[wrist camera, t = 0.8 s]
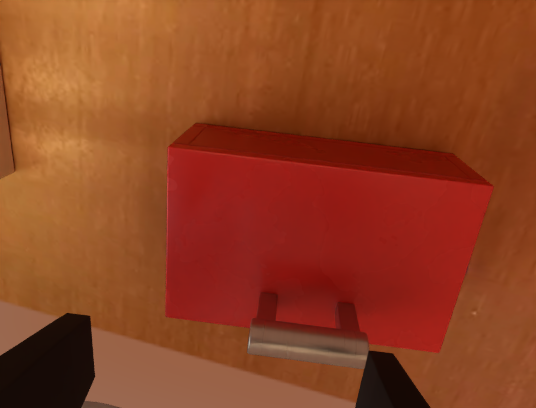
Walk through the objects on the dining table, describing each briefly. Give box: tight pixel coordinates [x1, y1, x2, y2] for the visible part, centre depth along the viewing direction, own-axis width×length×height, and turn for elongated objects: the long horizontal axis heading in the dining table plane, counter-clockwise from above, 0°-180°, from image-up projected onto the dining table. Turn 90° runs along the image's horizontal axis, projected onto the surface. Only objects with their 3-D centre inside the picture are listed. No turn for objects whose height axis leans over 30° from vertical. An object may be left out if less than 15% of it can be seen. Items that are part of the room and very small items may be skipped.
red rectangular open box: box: [172, 123, 487, 181], centre depth 18 cm, size 7×11×4 cm, turn 84°
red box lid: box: [165, 144, 494, 369], centre depth 15 cm, size 7×11×3 cm, turn 84°
